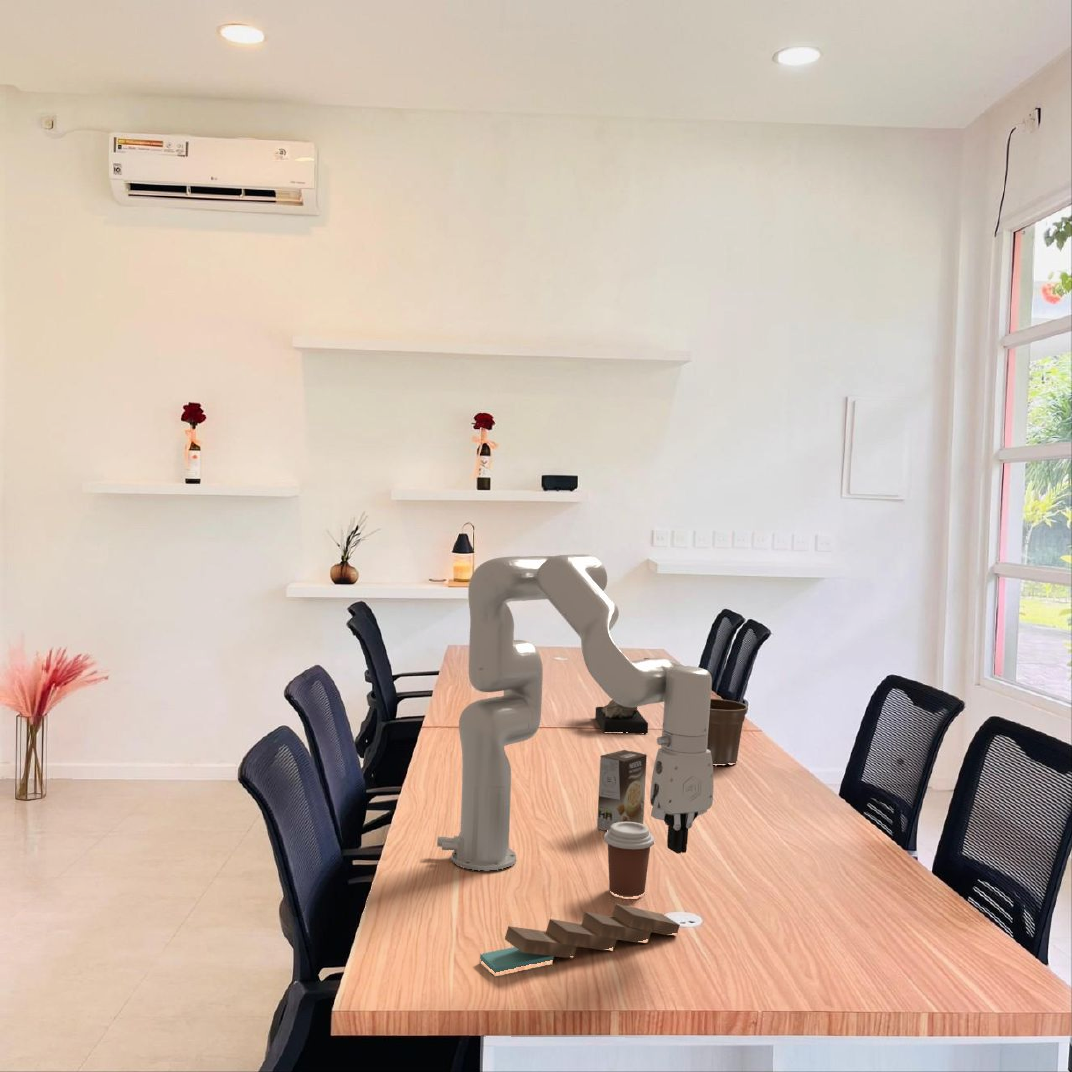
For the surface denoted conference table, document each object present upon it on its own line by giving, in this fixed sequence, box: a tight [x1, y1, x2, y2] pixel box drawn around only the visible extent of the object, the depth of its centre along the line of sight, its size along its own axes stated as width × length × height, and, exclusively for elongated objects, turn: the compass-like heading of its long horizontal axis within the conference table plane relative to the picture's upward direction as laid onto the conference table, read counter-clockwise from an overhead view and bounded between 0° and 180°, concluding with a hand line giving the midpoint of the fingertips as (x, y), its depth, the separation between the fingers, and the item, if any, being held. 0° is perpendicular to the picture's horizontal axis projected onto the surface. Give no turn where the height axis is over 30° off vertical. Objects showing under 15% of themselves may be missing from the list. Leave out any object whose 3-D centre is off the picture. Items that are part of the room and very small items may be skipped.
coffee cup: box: [603, 822, 655, 897], centre depth 185 cm, size 9×9×12 cm
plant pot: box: [707, 698, 749, 764], centre depth 283 cm, size 16×16×16 cm
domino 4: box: [611, 903, 681, 936], centre depth 167 cm, size 2×5×10 cm
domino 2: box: [545, 918, 618, 951], centre depth 161 cm, size 2×5×10 cm
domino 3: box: [581, 911, 652, 943], centre depth 164 cm, size 2×5×10 cm
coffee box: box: [596, 749, 648, 831], centre depth 222 cm, size 9×6×16 cm
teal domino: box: [479, 946, 555, 973], centre depth 155 cm, size 2×5×10 cm
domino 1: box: [504, 925, 578, 959], centre depth 157 cm, size 2×5×10 cm
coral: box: [595, 657, 651, 734], centre depth 326 cm, size 25×20×22 cm
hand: (676, 850), depth 170 cm, fingers closed
